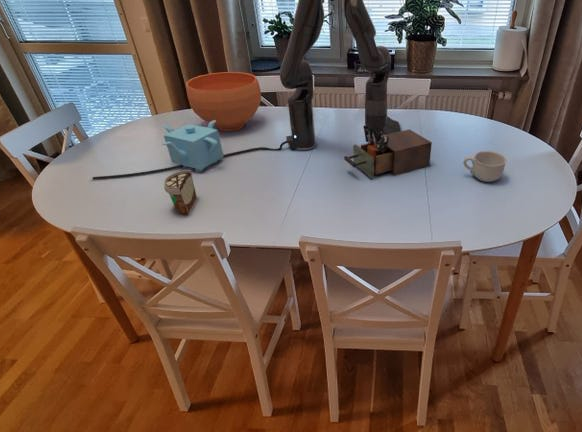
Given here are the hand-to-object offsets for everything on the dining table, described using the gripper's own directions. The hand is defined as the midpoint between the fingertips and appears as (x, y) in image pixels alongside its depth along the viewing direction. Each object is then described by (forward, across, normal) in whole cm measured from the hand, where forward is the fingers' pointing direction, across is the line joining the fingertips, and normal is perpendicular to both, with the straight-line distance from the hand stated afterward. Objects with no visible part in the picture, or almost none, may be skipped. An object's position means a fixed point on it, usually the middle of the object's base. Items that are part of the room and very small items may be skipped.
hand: (375, 157), depth 141 cm
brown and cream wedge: (+5, -7, -66) cm, 66 cm away
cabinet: (+5, 0, +11) cm, 12 cm away
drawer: (+4, 0, -1) cm, 4 cm away
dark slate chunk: (+5, -30, +21) cm, 37 cm away
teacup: (+5, +24, +30) cm, 38 cm away
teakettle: (+5, -37, -56) cm, 68 cm away
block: (0, 0, 0) cm, 0 cm away
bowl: (+5, -69, -37) cm, 78 cm away
